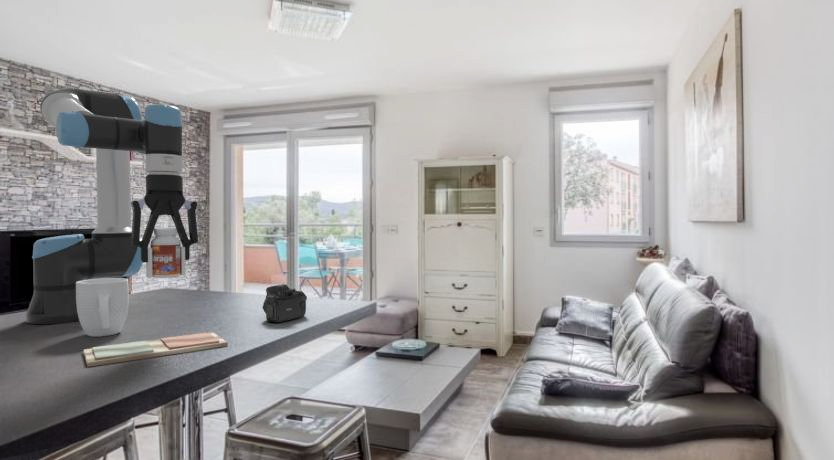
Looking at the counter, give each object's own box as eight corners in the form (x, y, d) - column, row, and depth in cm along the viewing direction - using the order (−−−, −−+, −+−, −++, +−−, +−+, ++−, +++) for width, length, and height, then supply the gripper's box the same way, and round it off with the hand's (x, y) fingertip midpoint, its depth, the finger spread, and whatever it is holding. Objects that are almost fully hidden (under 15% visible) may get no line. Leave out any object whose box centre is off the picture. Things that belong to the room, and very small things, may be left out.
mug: (132, 338, 119) (131, 283, 119) (76, 345, 113) (75, 286, 113) (127, 326, 132) (127, 276, 131) (76, 332, 125) (75, 279, 125)
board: (83, 353, 106) (83, 347, 106) (213, 335, 122) (212, 330, 122) (87, 366, 97) (87, 360, 97) (227, 345, 112) (227, 340, 112)
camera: (277, 314, 148) (276, 280, 148) (309, 315, 147) (309, 281, 146) (255, 324, 135) (254, 286, 135) (290, 325, 134) (289, 287, 133)
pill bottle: (145, 278, 113) (145, 228, 113) (157, 275, 119) (157, 228, 119) (174, 278, 113) (173, 228, 113) (185, 275, 120) (184, 228, 119)
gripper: (118, 171, 107) (120, 280, 107) (212, 175, 118) (214, 274, 119) (113, 173, 112) (115, 277, 113) (203, 177, 124) (204, 271, 125)
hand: (166, 275), depth 116 cm, fingers closed on pill bottle, 6 cm apart
